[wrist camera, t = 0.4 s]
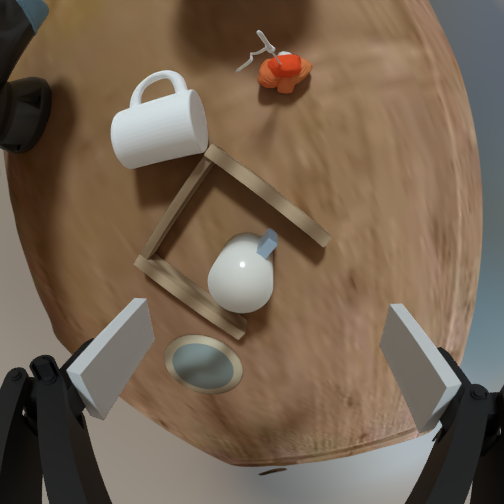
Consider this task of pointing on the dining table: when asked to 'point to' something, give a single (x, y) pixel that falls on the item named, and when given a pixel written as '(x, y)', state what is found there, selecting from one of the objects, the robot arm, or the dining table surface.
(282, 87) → the orange lump with branch
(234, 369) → the coaster
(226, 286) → the blue handled white cup
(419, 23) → the dining table surface
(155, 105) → the mug
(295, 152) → the dining table surface
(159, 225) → the wooden u-shaped frame
